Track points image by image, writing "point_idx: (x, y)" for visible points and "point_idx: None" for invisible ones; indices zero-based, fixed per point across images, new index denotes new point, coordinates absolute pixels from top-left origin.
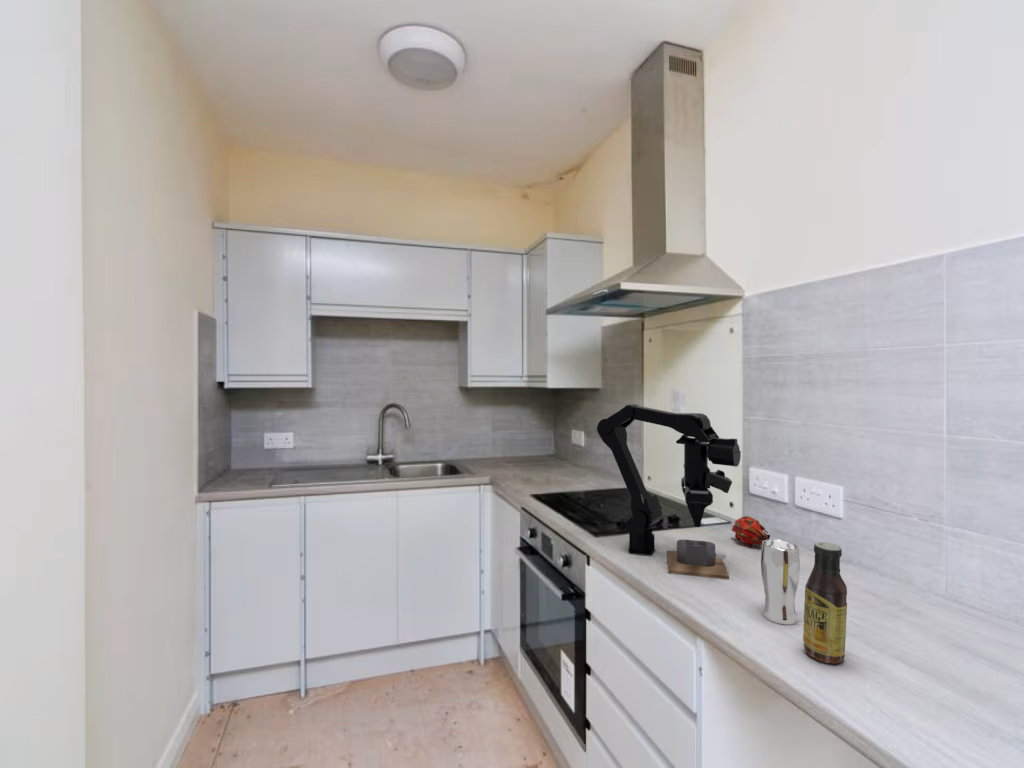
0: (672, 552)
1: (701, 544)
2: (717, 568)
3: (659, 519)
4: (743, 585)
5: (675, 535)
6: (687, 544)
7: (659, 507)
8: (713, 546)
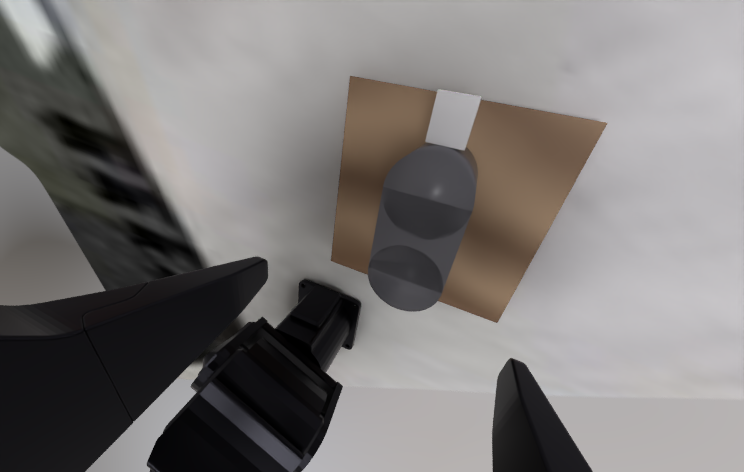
0: (347, 252)
1: (430, 223)
2: (502, 147)
3: (264, 350)
4: (704, 69)
5: (191, 176)
6: (431, 285)
7: (224, 404)
8: (464, 172)
